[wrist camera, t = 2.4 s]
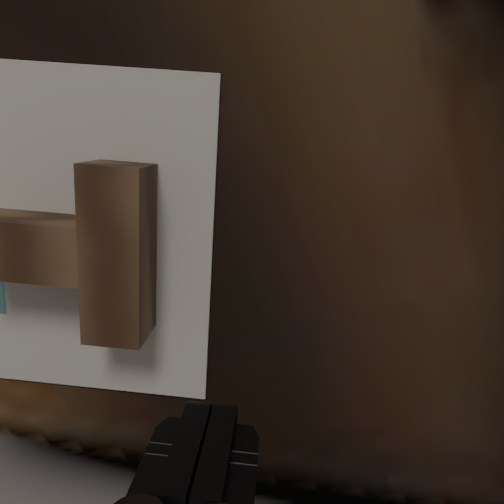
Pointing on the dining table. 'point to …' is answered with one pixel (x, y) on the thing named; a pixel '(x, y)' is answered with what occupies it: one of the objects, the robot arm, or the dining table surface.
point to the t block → (94, 250)
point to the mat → (63, 201)
